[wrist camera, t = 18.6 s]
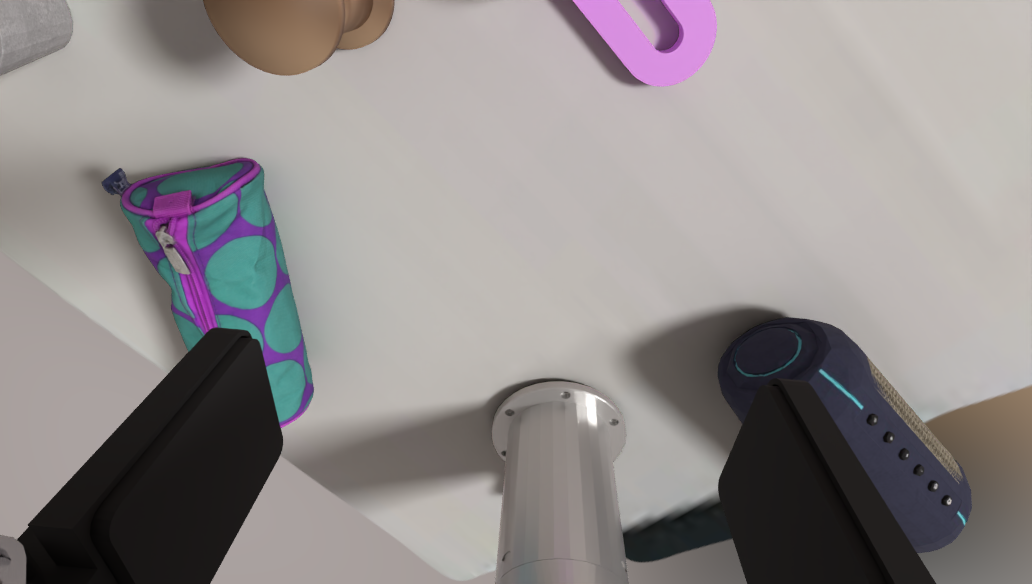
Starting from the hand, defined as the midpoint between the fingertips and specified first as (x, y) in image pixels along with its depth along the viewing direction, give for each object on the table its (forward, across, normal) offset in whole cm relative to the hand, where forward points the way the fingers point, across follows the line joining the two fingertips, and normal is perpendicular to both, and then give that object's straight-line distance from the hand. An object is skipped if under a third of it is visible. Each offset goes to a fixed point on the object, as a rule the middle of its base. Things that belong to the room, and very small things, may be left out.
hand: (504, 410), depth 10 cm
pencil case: (+29, +21, +16) cm, 39 cm away
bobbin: (+28, +12, -5) cm, 31 cm away
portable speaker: (+29, -28, +23) cm, 46 cm away
